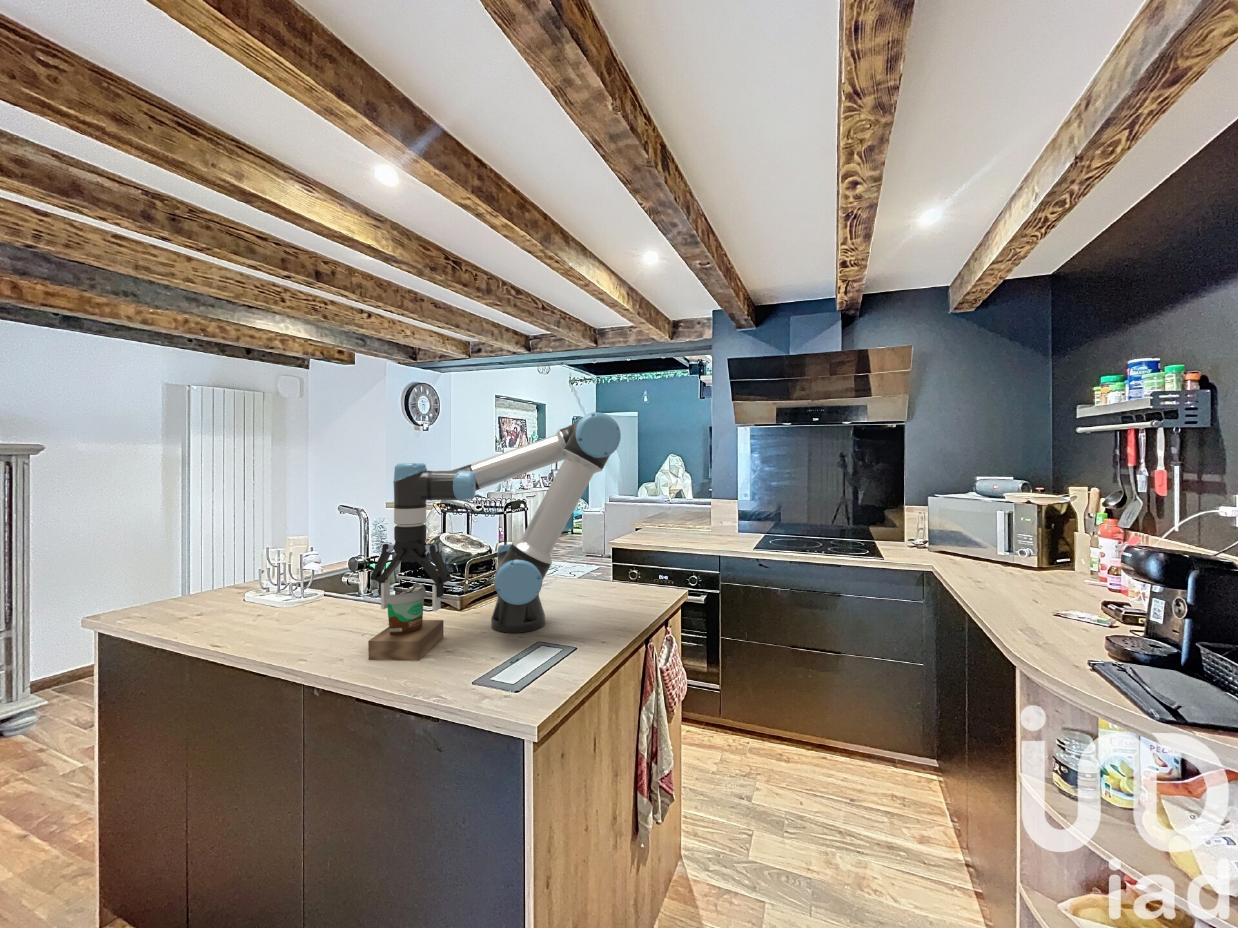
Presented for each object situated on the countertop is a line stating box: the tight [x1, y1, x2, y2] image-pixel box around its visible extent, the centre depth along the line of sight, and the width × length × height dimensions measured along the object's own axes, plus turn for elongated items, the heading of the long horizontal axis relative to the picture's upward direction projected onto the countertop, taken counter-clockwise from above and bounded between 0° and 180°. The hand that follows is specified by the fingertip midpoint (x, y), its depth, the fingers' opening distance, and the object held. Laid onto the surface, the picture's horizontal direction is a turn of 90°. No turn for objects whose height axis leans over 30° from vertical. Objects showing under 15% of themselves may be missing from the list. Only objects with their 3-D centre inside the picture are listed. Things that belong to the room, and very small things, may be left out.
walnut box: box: [367, 619, 445, 661], centre depth 132 cm, size 12×16×5 cm
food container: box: [385, 583, 427, 635], centre depth 132 cm, size 12×6×10 cm, turn 169°
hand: (410, 608), depth 132 cm, fingers open, 13 cm apart
